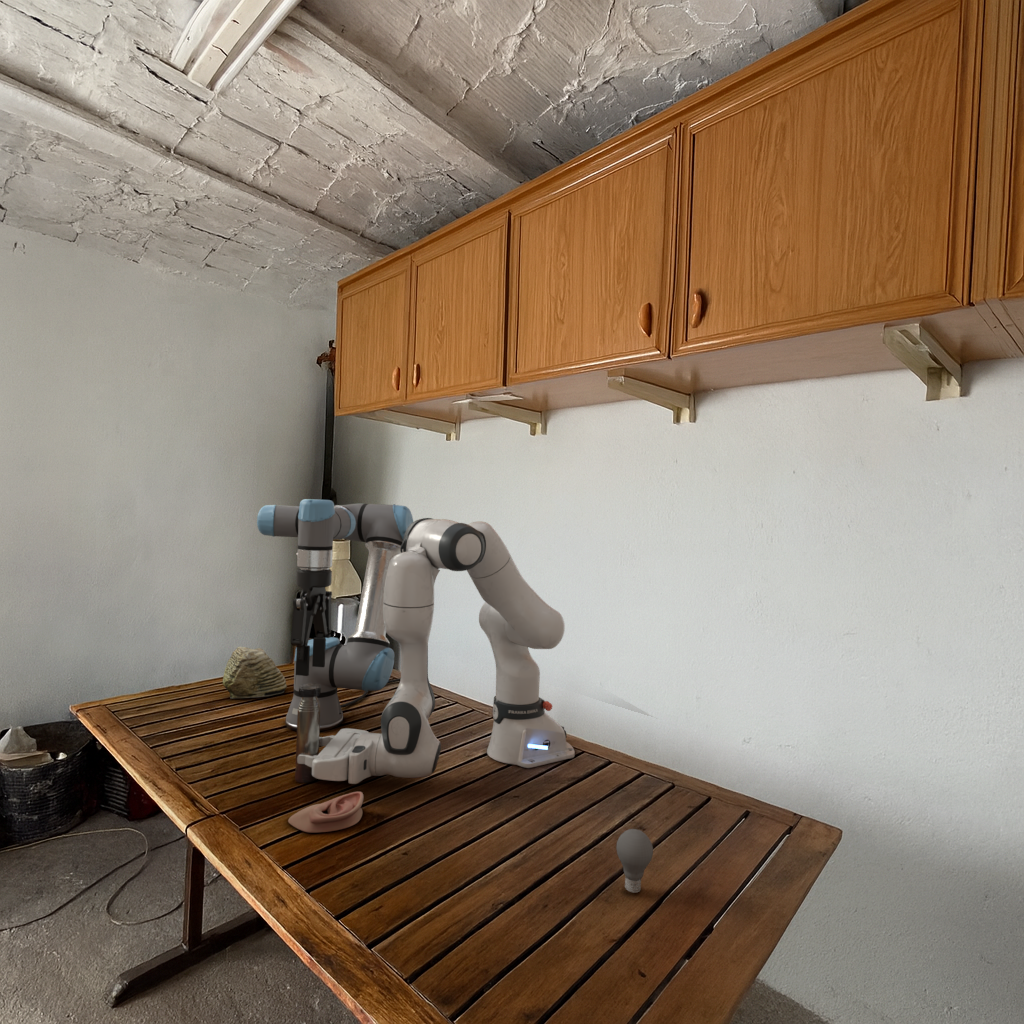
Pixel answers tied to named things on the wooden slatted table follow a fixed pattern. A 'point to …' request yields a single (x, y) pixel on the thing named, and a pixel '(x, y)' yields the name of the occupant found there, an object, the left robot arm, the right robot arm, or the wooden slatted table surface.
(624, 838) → the light bulb
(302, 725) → the bottle
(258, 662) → the fossil
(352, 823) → the anatomical model
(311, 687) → the cap
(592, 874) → the wooden slatted table surface
